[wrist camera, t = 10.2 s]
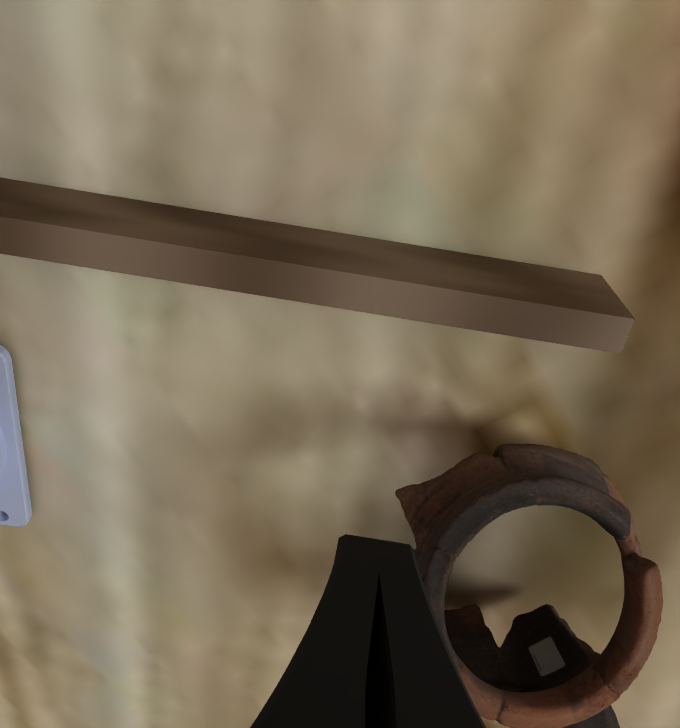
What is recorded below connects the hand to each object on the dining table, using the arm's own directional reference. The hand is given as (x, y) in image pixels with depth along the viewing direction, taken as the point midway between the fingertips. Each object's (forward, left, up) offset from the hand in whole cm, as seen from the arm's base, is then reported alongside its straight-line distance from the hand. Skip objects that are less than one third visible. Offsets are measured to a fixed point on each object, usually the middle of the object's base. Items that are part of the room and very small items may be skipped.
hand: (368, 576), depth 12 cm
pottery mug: (+6, -8, -10) cm, 14 cm away
